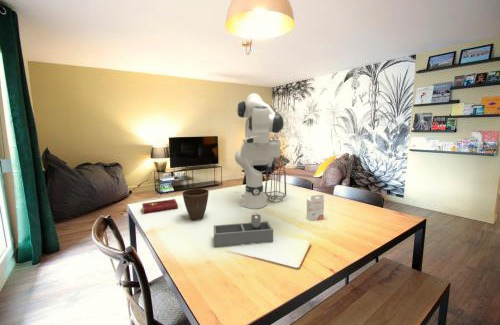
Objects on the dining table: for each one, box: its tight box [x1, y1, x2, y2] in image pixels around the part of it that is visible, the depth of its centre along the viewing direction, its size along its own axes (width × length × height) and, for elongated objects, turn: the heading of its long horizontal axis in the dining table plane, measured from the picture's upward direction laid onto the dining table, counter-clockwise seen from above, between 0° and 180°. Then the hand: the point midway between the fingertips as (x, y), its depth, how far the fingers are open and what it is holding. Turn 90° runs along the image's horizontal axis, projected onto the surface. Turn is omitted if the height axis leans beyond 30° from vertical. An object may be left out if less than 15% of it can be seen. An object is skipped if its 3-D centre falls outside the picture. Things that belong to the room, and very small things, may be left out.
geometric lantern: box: [264, 155, 291, 203], centre depth 170 cm, size 16×16×35 cm
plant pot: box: [182, 188, 210, 221], centre depth 137 cm, size 15×15×16 cm
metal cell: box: [250, 213, 262, 230], centre depth 111 cm, size 4×4×11 cm
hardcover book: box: [141, 198, 179, 215], centre depth 155 cm, size 12×21×4 cm, turn 117°
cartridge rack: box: [213, 220, 274, 248], centre depth 111 cm, size 10×27×6 cm, turn 100°
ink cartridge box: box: [306, 194, 325, 222], centre depth 135 cm, size 9×5×15 cm, turn 105°
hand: (260, 166), depth 118 cm, fingers open, 8 cm apart
